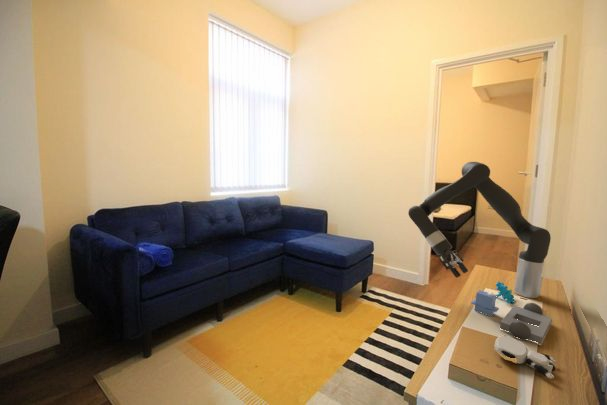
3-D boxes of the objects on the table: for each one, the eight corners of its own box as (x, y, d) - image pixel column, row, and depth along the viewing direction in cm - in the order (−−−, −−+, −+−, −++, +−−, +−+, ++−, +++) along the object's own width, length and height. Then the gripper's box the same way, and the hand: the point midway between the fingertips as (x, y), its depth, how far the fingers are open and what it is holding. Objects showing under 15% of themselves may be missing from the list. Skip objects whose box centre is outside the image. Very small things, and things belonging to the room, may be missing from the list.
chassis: (498, 330, 104) (500, 315, 103) (514, 310, 119) (516, 297, 118) (539, 347, 95) (542, 331, 94) (551, 323, 110) (554, 309, 109)
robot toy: (554, 367, 87) (497, 341, 97) (558, 354, 86) (500, 329, 96) (551, 389, 78) (489, 358, 88) (555, 375, 77) (492, 345, 87)
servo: (470, 309, 119) (472, 289, 118) (473, 306, 122) (476, 286, 121) (495, 318, 113) (498, 297, 111) (498, 315, 115) (500, 294, 114)
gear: (509, 303, 122) (495, 281, 128) (497, 308, 126) (483, 286, 131) (520, 301, 128) (506, 280, 133) (508, 306, 132) (495, 285, 137)
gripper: (438, 240, 123) (463, 274, 116) (451, 236, 132) (475, 267, 125) (425, 249, 127) (448, 282, 120) (439, 244, 137) (461, 274, 130)
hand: (462, 274), depth 123 cm, fingers open, 8 cm apart
